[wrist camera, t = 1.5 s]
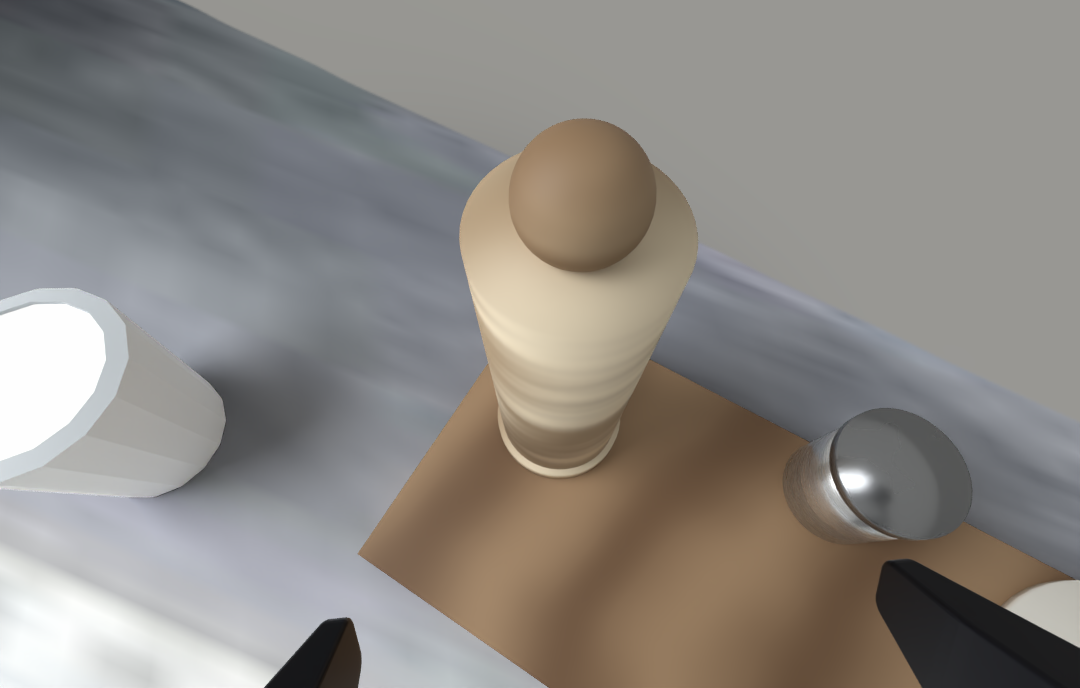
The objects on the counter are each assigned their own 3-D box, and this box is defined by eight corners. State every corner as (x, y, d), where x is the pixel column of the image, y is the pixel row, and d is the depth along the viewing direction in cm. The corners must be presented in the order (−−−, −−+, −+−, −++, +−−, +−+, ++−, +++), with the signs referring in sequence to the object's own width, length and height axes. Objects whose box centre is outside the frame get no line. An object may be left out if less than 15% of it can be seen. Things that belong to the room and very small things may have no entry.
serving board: (1355, 740, 18) (1407, 751, 17) (1388, 1266, 13) (1463, 1327, 12) (532, 310, 25) (532, 298, 24) (367, 555, 21) (357, 554, 19)
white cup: (272, 411, 23) (171, 347, 17) (150, 547, 21) (-23, 534, 14) (170, 336, 25) (41, 253, 18) (44, 456, 22) (-154, 407, 16)
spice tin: (910, 514, 20) (1001, 498, 16) (827, 568, 19) (902, 565, 15) (838, 422, 22) (905, 388, 18) (758, 468, 21) (810, 442, 17)
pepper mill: (639, 444, 21) (821, 195, 7) (532, 501, 20) (513, 338, 6) (580, 347, 23) (639, 3, 9) (480, 395, 22) (379, 93, 8)
